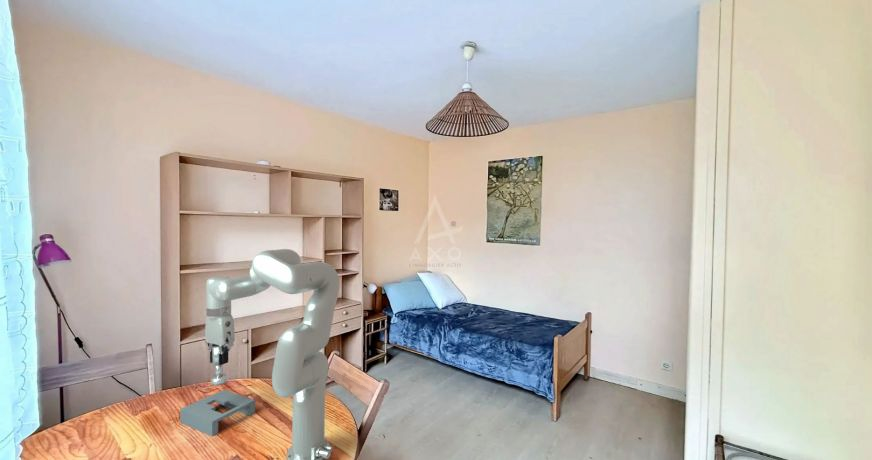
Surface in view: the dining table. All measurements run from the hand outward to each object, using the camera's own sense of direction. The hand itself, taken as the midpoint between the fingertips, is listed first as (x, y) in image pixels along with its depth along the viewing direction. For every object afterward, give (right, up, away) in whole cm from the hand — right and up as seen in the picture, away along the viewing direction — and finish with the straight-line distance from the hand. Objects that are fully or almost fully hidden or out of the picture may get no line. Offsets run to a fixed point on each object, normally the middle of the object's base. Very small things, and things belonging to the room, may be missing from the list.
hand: (219, 362), depth 123 cm
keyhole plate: (-2, -22, +3) cm, 22 cm away
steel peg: (0, -7, 0) cm, 7 cm away
